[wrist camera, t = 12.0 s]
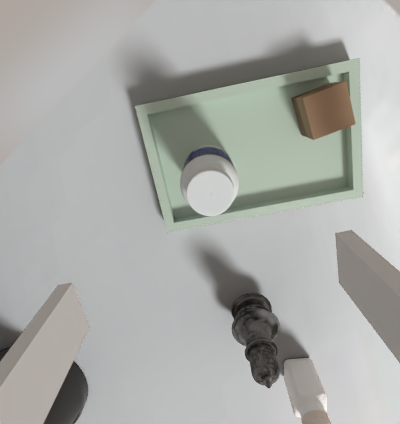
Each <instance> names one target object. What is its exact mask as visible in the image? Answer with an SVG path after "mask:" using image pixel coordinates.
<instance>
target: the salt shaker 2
mask: <svg viewBox="0 0 400 424" xmlns="http://www.w3.org/2000/svg"><path fill="white" fill-rule="evenodd" d="M284 381H285V384H286V388H287V391H288V395H289V398H290V401H291V405H292V408H293V412H294V415H295V416H297V417H299V418H302V419H301V420H302V423H303V424H331V423H330V420H329V418H328V414H327V413H326V409H327V396H326V393H325V391H324V388H323V386H322V384H321V381H320V379H319V376H318V374H317V371H316V369H315V367H314V364H313V362H312V360H311V359H310V358H300V359H287V360H285V362H284Z"/></svg>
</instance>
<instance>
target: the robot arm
mask: <svg viewBox="0 0 400 424" xmlns="http://www.w3.org/2000/svg"><path fill="white" fill-rule="evenodd" d="M335 235H336V249H337V262H338V276H339V283H340V285H341V286H342V287H343V289H344V290H345V291H346V292H347V294H348V295H349V296H350V298H351V299H352V300H353V302H354V303H355V304H356V306H357V307H358V308H359V310H360V311H361V312H362V314H363V315H364V316H365V318H366V319H367V320H368V322H369V323H370V324H371V326H372V327H373V328H374V329H375V331H376V332H377V333H378V335H379V336H380V337H381V339H382V340H383V341H384V343H385V344H386V345H387V347H388V348H389V349H390V351H391V352H392V353H393V355H394V356H395V357H396V359H397V360H398V361H399V363H400V272H399V271H398V270H397V269H396V268H395V267H394V266H392V265H391V264H390V263H389V262H388V261H387V260H386V259H384V258H383V257H382V256H381V255H380V254H379V253H377V252H376V251H375V250H374V249H373V248H372V247H371V246H369V245H368V244H367V243H366V242H365V241H364V240H362V239H361V238H360V237H359V236H358V235H357V234H356V233H354V232H353V231H352V230H350V231H345V232H339V233H335ZM89 328H90V326H89V323H88V320H87V318H86V315H85V313H84V310H83V308H82V305H81V303H80V300H79V298H78V295H77V293H76V290H75V288H74V285H73V283H68V284H63V285H58V286H57V287H56V289H55V290H54V291H53V293H52V294H51V295H50V297H49V298H48V299H47V301H46V302H45V303H44V305H43V306H42V307H41V309H40V310H39V311H38V312H37V314H36V315H35V316H34V318H33V319H32V320H31V322H30V323H29V324H28V326H27V327H26V328H25V330H24V331H23V332H22V334H21V335H20V336H19V338H18V339H17V340H16V341H15V343H14V344H13V345H12V347H9V348H7V349H4V350H2V351H0V424H74V423H75V422H76V421H77V420H78V418H79V416H80V415H81V413H82V410H83V408H84V405H85V403H86V400H87V396H88V385H87V381H86V378H85V376H84V374H83V373H82V371H81V370H80V369H79V367H78V366H77V365H76V364H75V363H74V362H73V361H74V359H75V357H76V355H77V353H78V351H79V348H80V346H81V344H82V342H83V340H84V338H85V336H86V334H87V332H88V330H89Z"/></svg>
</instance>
